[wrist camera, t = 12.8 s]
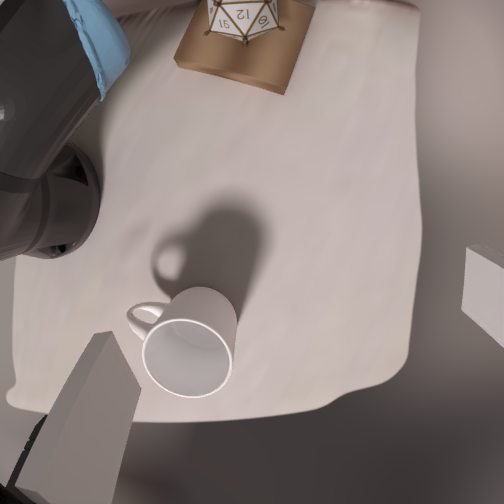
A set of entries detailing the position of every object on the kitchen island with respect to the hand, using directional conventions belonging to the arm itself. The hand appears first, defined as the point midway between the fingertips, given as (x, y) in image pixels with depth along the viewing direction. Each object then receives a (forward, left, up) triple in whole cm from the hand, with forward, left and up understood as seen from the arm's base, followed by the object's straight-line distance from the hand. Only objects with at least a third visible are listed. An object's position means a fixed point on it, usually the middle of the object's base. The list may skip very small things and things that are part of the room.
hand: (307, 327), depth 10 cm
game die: (-10, +22, -24) cm, 34 cm away
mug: (-6, -12, -27) cm, 30 cm away
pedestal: (-10, +22, -27) cm, 36 cm away
